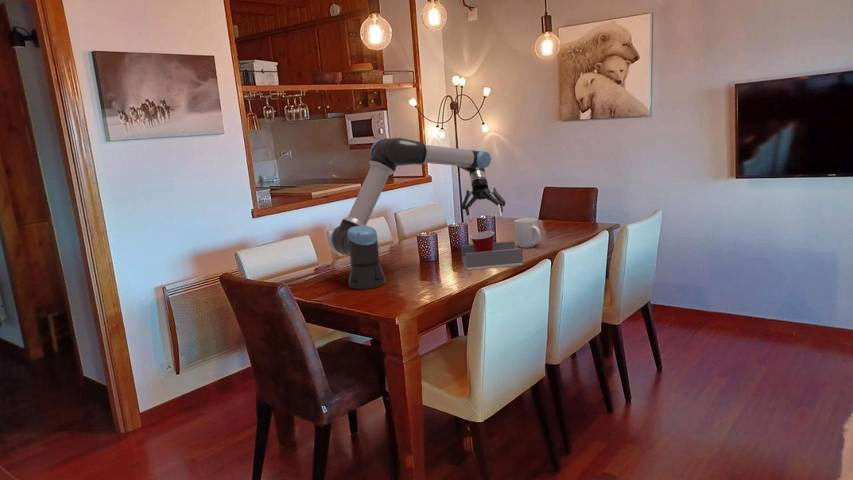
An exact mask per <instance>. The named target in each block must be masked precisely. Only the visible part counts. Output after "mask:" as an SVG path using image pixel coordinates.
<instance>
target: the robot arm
mask: <svg viewBox="0 0 853 480" xmlns="http://www.w3.org/2000/svg"><path fill="white" fill-rule="evenodd" d="M369 151H370V152H369V155H370V160H369V162H368V163H369V165H370V168H369V170H368V172H367V174H366V177H365V178H364V181H363V183H362V185H361V188H360V190H359V192H358V194H357V196H356V198H355V201H354V203H353V205H352V207H351V209H350V211H349V214H348V215H347V217H345V218H342V220H341V222H340V224H339V226H336V227H334V228H333V230H332V231H331V234H330V238H329V239H330V244H331V247H332V248H333V249H334V251H336V252H337V253H339V254H341V255H345V256H348V257H349V258H350V270H349V271H350V272H349V277H348V280H347V281H348V287H349V288H350V289H352V290H353V289H354V290H369V289H374V288H379V287H381V286H384V285H385V284H386V283H387V280H386V275H385V272H384V270H383V268H382V266H381V263H380V255H379V254H380V253H379V243H378V237H379V236H378V235H377V234H378V233H377V230H376V229H375V228H374V227H372V226H369V225H367V224H368V222H369V220H370V217H371V216H372V214H373V211H374V209H375V207H376V205H377V203H378V200H379V198H380V196H381V193H383V192H382V191H383V190H384V187H385V185H386V183H387V180H388V178H389V176H391V175H393V174H394V173H395V172H396V170H397V168H398V166H410V165H418V166H421V165H423V164H434V165H435V164H436V165H442V166H443V165H444V166H454V167H455V166H456V167H458V168H459V169H462V170H464V171H466V172H467V173H469V177H470V183H471V190H472V191H470V190H469V189H468V190H465V191H466V193H465V197H464V199H463V200H462V203H461V205H460V206H461V210H465V214H466V216H468V219H469V223H473V218H472V217H473V216H472V211H471V207H472V206H473V204H475V202H476V201H477V200H478V201H479V200H487V201H490V202H491V203H492V204H494V205H495V206H497V212H498V217H499V220H502V218H503V215H502V213H503V212H504V208H503V207H505V206H506V200H505V199H504V198H503V197H502V196H501V194H499V193H498V191H497V188H495V187H492V189H490V188H489V184H488V179H487V173H486V170H485V169H486V168H487V167H489V166H490V164H491V163H492V162H491V161H492V158H491V154H490V153H489V152H488V151H486V150H473V149H471V150H470V149H464V148H458V147H455V148H454V147H447V146H439V145H429V144H425V142H423V141H418V140H417V141H416V140H413V139H412V140H411V139H407V138H404V137H394V138H393V137H392V138H389V137H386V138H385V137H383V138H381V139H378V140H376V141H374V143H373V144H372V145H371V147H370V150H369ZM471 195H472V198H471V199H470V198H469V197H471ZM469 199H470V200H469ZM468 200H469V201H468Z"/></svg>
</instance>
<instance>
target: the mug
mask: <svg viewBox="0 0 853 480" xmlns="http://www.w3.org/2000/svg"><path fill="white" fill-rule="evenodd" d="M514 234H515V239H516V242H517V244H518V246H519V247H520V248H522V249H529V248H533V247H535V245H536V244H538V243H540V242H541V240H542V233H541V230H540V228H539V225H538V219H537V218H532V217H525V218H524V217H523V218H522V217H521V218H518V219H517V218H516V219H515V220H514Z"/></svg>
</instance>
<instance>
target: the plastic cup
mask: <svg viewBox="0 0 853 480" xmlns="http://www.w3.org/2000/svg"><path fill="white" fill-rule="evenodd" d="M494 235H495V232H494V231H490V230H489V231H488V230H487V231H486V230H485V231H479V232H476V233H473V234H471V235H470V236H469V238H470V240H471V241H472V245H473V244H474V247H475V251H476V252H486V251H492V249H493V243H494Z"/></svg>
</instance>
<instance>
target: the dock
mask: <svg viewBox="0 0 853 480" xmlns="http://www.w3.org/2000/svg"><path fill="white" fill-rule="evenodd" d="M515 244H516V243H515V240H508V241H498V242H496V241H495V242H493V249H492V251H486V252H476V251H475V247H474V244H473V243H472V244H461V257H462V258H461V260H462V263H463V265H464V267H465V269H466V271H472V270H481V269H482V270H483V269H484V268H485V269H494V268H503V267H504V268H505V267H515V266H523V265H524V257H523V255H524V254H523V248H522V247H520V248H516V245H515Z"/></svg>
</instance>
